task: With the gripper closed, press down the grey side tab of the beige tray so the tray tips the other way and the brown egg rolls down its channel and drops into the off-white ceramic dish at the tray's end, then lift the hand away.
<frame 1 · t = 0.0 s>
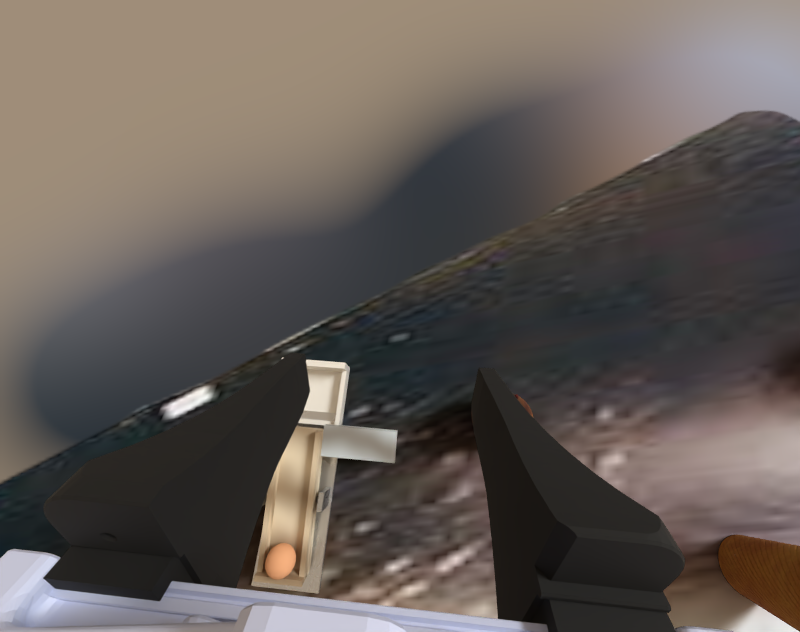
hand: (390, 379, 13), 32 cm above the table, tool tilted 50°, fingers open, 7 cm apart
beige tray: (328, 500, 36), point 4 cm above the table, hinge at -11.0°, touching brown egg
dish: (315, 393, 44), on the table
disposable coffee cup: (744, 565, 37), on the table
stand: (302, 491, 40), on the table
brown egg: (280, 560, 34), point 4 cm above the table, tilted 11°, touching beige tray
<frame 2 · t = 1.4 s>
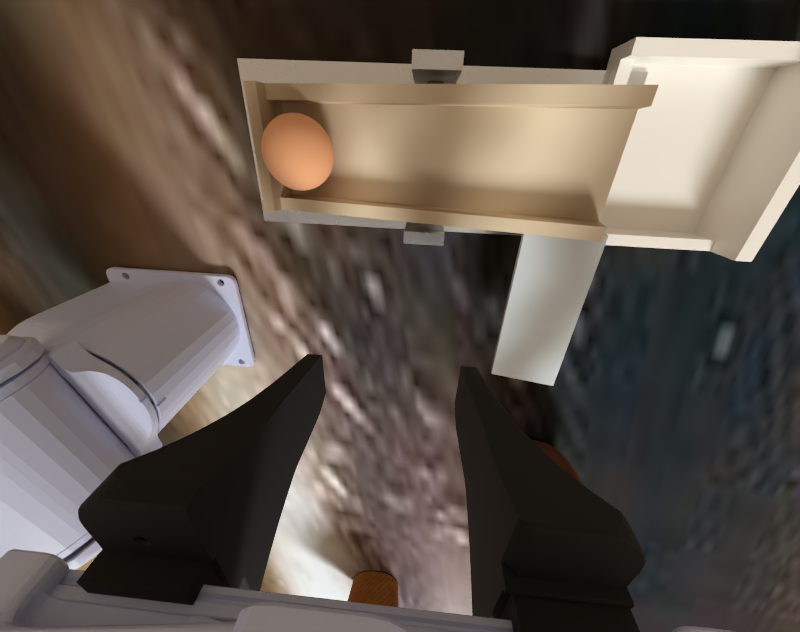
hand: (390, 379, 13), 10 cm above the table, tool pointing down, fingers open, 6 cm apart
beige tray: (424, 252, 16), point 4 cm above the table, hinge at -11.0°, touching brown egg
wooden figurine: (525, 450, 29), on the table
dish: (659, 156, 17), on the table
disposable coffee cup: (376, 579, 44), on the table
stand: (429, 156, 18), on the table
brown egg: (298, 153, 14), point 4 cm above the table, tilted 11°, touching beige tray
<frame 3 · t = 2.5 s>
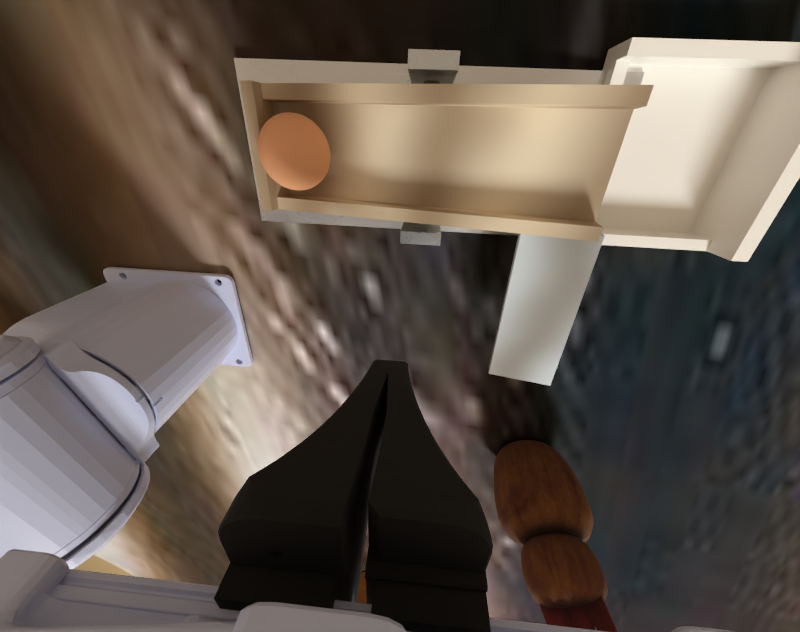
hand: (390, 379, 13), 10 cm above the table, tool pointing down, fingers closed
beige tray: (421, 252, 16), point 4 cm above the table, hinge at -11.0°, touching brown egg
wooden figurine: (523, 449, 29), on the table
dish: (656, 156, 17), on the table
stand: (426, 156, 18), on the table
brown egg: (295, 153, 14), point 4 cm above the table, tilted 11°, touching beige tray
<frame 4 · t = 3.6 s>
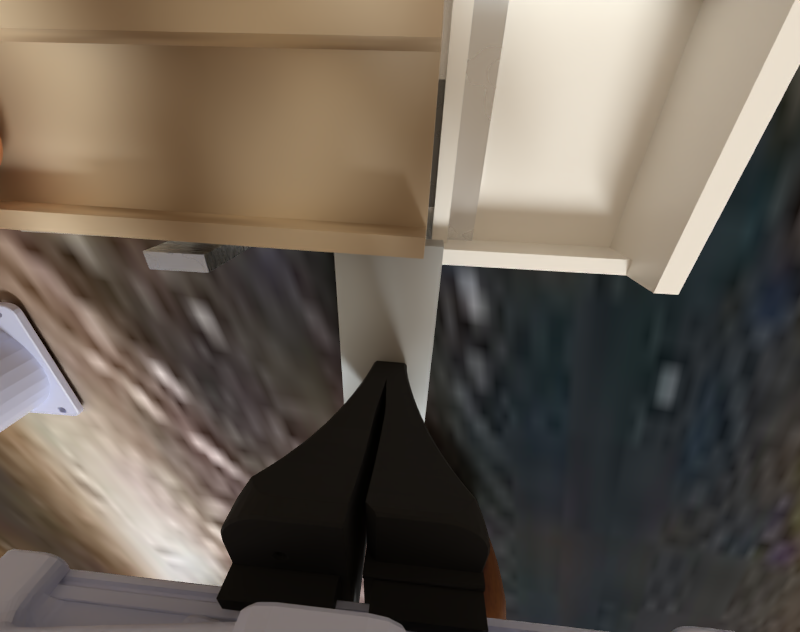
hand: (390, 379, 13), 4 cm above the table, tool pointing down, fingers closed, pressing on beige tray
beige tray: (200, 281, 11), point 4 cm above the table, hinge at -2.3°, touching brown egg, gripper
wooden figurine: (442, 507, 24), on the table
dish: (550, 138, 11), on the table
stand: (225, 138, 12), on the table
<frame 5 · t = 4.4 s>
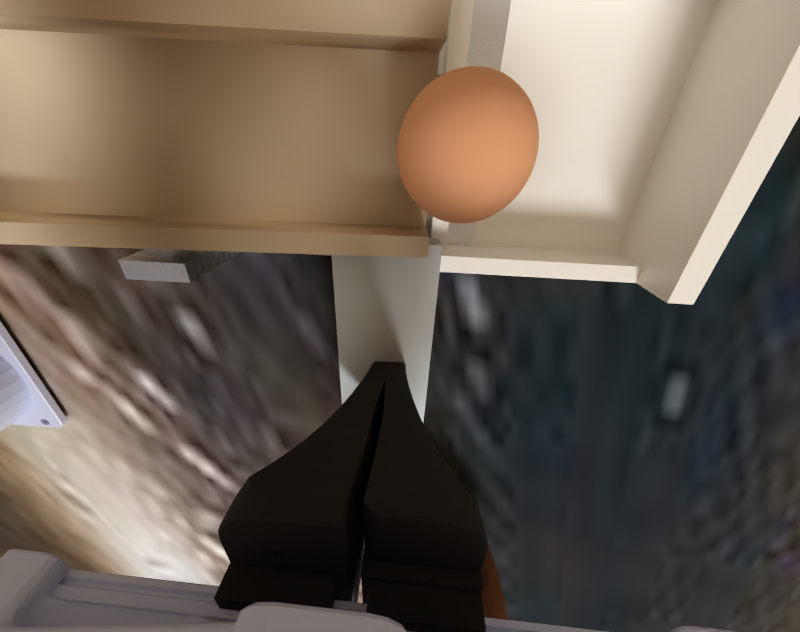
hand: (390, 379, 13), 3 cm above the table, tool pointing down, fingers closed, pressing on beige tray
beige tray: (186, 290, 10), point 4 cm above the table, hinge at 4.1°, touching dish, gripper
wooden figurine: (441, 518, 23), on the table
dish: (556, 137, 11), on the table
stand: (210, 138, 11), on the table
brown egg: (464, 152, 7), point 4 cm above the table, tilted 162°
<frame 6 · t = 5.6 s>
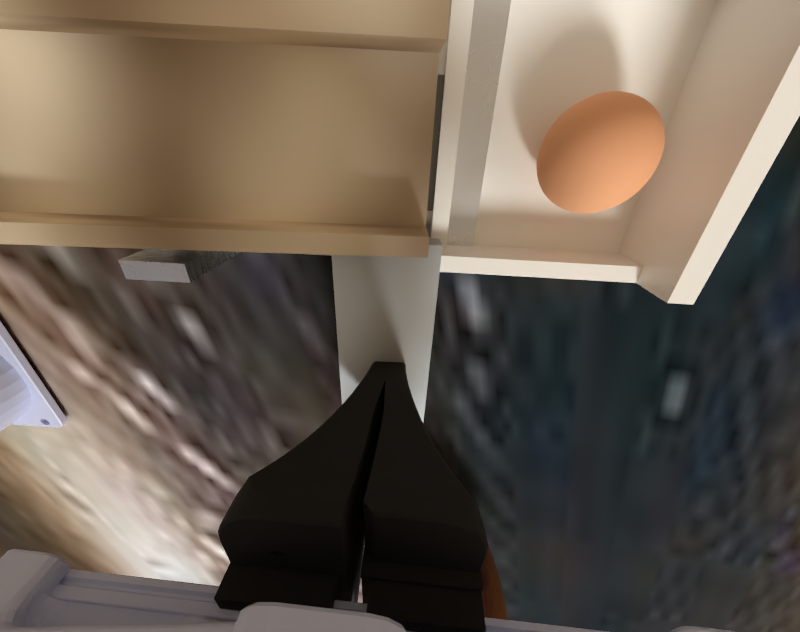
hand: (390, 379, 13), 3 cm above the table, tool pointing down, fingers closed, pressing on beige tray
beige tray: (186, 290, 10), point 4 cm above the table, hinge at 4.1°, touching dish, gripper
wooden figurine: (441, 518, 23), on the table
dish: (556, 137, 11), on the table
stand: (210, 138, 11), on the table
brown egg: (594, 157, 9), point 2 cm above the table, tilted 34°, touching dish
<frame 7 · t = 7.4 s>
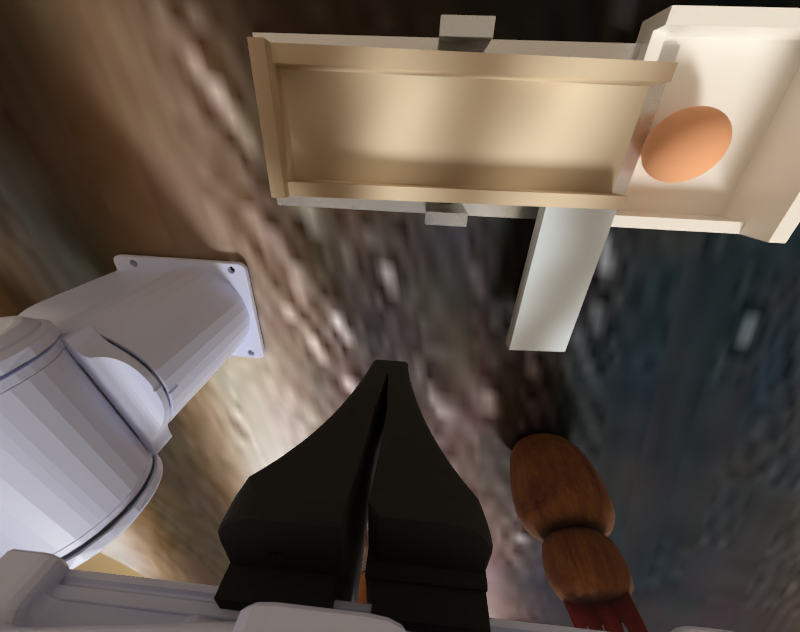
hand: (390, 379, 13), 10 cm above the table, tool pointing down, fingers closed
beige tray: (450, 234, 16), point 4 cm above the table, hinge at 4.1°, touching dish
wooden figurine: (538, 443, 29), on the table
dish: (688, 136, 16), on the table
stand: (448, 136, 17), on the table
brown egg: (683, 146, 15), point 2 cm above the table, tilted 102°, touching dish
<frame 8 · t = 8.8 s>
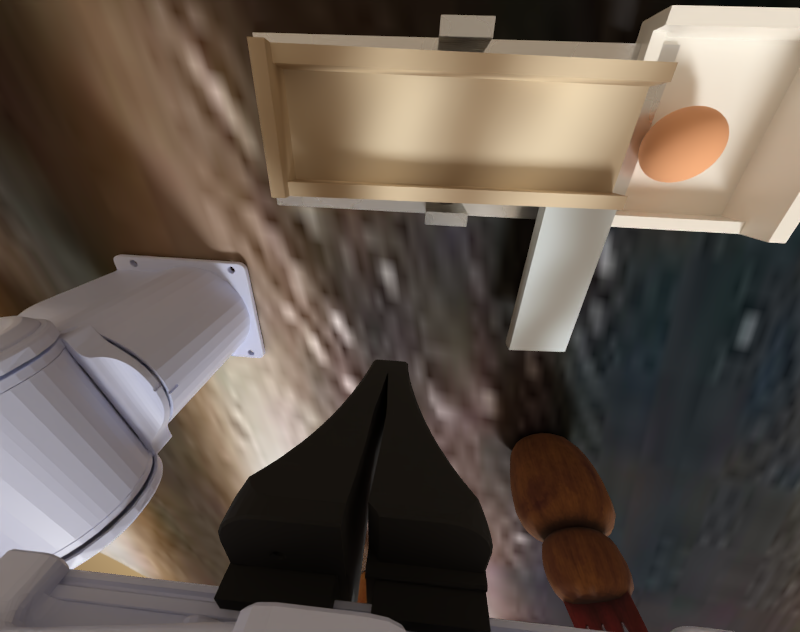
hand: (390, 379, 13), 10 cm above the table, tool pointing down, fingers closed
beige tray: (450, 234, 16), point 4 cm above the table, hinge at 4.1°, touching dish
wooden figurine: (538, 443, 29), on the table
dish: (688, 136, 16), on the table
stand: (448, 136, 17), on the table
brown egg: (680, 146, 15), point 2 cm above the table, tilted 107°, touching dish
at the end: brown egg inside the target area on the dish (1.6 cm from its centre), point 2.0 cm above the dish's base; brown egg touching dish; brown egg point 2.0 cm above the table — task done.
